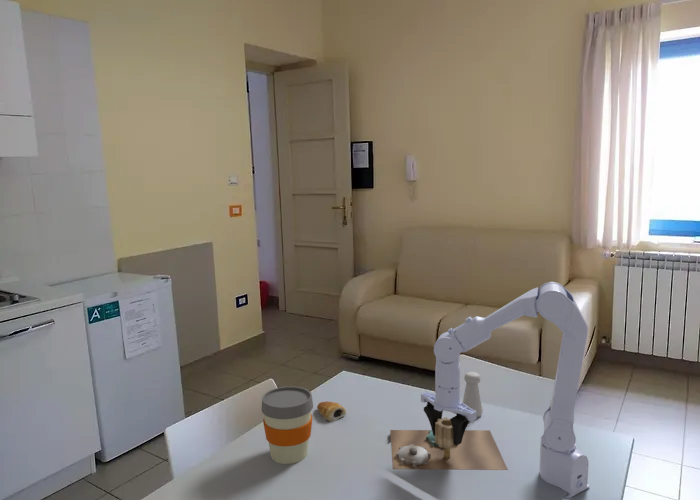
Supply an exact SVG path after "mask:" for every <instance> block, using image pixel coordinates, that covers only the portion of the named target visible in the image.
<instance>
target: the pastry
mask: <svg viewBox="0 0 700 500" xmlns="http://www.w3.org/2000/svg"><path fill="white" fill-rule="evenodd" d="M316 408H317V410H318V412H319V415H320V417H322V418H323V417H324V418H325V419H324V418H323V419H324V420H326V421H327V420H328V421H327V422H330V421H331V422H335V421H337V420H339V419H342V418H344V417H345V416H346V414H347V410H346V408H345V407H344V406H342V405H341V404H339V402H333V401H321V402H319V403H318V404H317V406H316Z"/></svg>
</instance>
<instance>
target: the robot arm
mask: <svg viewBox="0 0 700 500" xmlns="http://www.w3.org/2000/svg"><path fill="white" fill-rule="evenodd" d="M538 314H539V315H540V316H541V317H542V318H544V319H545V320H547V321H549V322H551V323H553V324H554V325H555V326H556V327H557V328H558V329H559V330H560V332H562V336H561V341H560V347H559V354H558V361H557V366H556V373H555V379H554V385H553V389H552V394H551V395H552V396H551V399H550V402H549V406H548V408H546V409H545V411H544V414H543V418H542V419H543V420H542V421H543V434H542V435H541V437H540V448H539V450H540V451H539V452H540V453H539V473H538V474H539V477H540V478H541V479H542V480H543V481H544V482H546V483H547V484H551V485H552V486H554V487H555V486H556V487H558V488H560V489H562V490H563V491H564V492H566V493H567V494H566V495H565V496H564V497H563V498H564V499H565V500H567V499H570V498H572V497H574V496H576V495H578V494H579V493H581V492H583V491H585V490H587V489H589V488H590V484H588V483H589V482H588V480H589V477H588V476H589V458H588V457H587V455H585V454H584V453H583V452H581V451H580V449H578V446H577V443H576V441H577V437H576V434H575V430H574V429H575V427H574V423H575V422H574V421H575V408H576V407H575V406H576V401H577V394H578V389H579V385H580V378H581V373H582V366H583V361H584V355H585V351H586V350H585V349H586V343H587V339H588V338H587V337H588V333H589V328H588V324H587V322H586V319H585V318H584V315H583V314H582V312H581V310H580V307H579V306H578V305H577V302H576V300H575V299H574V296H573V294H572V293H571V292H570V291H569V290H568V289H566V287H565V286H564V285H562V284H561V283H559V282H555V281H549V282H545V283H543V284H542V285H541V286H540V287H539V288H538V286H537V287H535V288H532V289H530V290H528V291H527V292H524V293H523V294H522V295H520V296H518V297H517V298H515V299H513V300H512V301H510V302H508V303H507V304H505V305H504V306H502V307H500V308H499V309H497V310H496V311H493V312H492V313H490V314H489V315H487V316H486V317H483V316H482V317H481V316H478V315H477V316H474V317H472V316H468V317H467V318H465V320H464V322H463V323H462V324H460V325H458V326H455V328H453V327H451V328H450V327H449V329H448V330H447V331H446V332H442V333H441V334H440V335H439V336H438V338H437V340H436V342H435V343H434V346H433V355H434V356H435V369H434V370H435V373H434V374H435V375H434V376H435V377H434V378H435V379H434V380H435V382H434V385H435V386H434V387H435V388H434V389H435V391H434V393H433V392H428V391H424V392H423V393H421V394H420V402H422V403H424V404H425V403H426V405H425V406H424V407H423V411H424V413H425V415H426V418H427V419H428V421H429V424H430V427H431V430H432V432H433V435H434V436H435V422H437V419H443V417H442V416H443V412H449V413H452V414H455V416H453V417H451V418H449V419H450V421H451V423H452V427H453V442H454V445H456V446H457V445H459V444H461V442H462V438H463V435H464V432H465V430H467V427H468V425H469V423H470V422H471V423H472V422H473V421H475V420H477V418H476V411H475V410H473V409H471V408H469V407H468V406H467V405H465V404H464V403H463V401H461V363H460V362H461V359H460V358H461V354H462V353H465V352H468V351H470V350H471V349H474V348H475V347H477V346H479V345H480V344H483V343H485V342H486V341H488V340H490V339H491V337H492V331H495V330H496V329H499V328H500V327H503V326H505V325H507V324H509V323H511V322H513V321H514V320H515V321H516V320H517V319H519V318H521V317H524V316H525V317H530V318H535V319H537V318H538Z"/></svg>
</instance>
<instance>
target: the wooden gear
mask: <svg viewBox="0 0 700 500" xmlns="http://www.w3.org/2000/svg"><path fill="white" fill-rule="evenodd" d="M450 419H451V418H448V417H447V416H445V417H443V418H442V419H437V422H435V443H436V444H438V445H439V447H441V448H442V447H444V448H447V449H451V448H453V447H455V448H456V447H458V445H457V446H456V445H454V442H453V427H452V423H451V421H450Z"/></svg>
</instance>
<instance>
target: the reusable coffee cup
mask: <svg viewBox="0 0 700 500" xmlns="http://www.w3.org/2000/svg"><path fill="white" fill-rule="evenodd" d="M313 408H314V402H313V395H312V392H311V391H310V390H309V389H307V388H305V387H300V386H290V385H289V386H281V387H276V388H273V389H270V390H268V391H267V392H266V393H264V394H263V395H262V398H261V413H262V414H263V418H262V419H263V420H262V421H263V422H262V424H263V428H264V434H265V439H266V441H267V442H268V446H269V447H268V448H269V452H270V457H271V459H272V460H273V461H274V462H275V463H278V464H283V465H292V464H296V463H298V462H301V461H303V460H304V459H306V457H307V456H308V452H309V451H308V450H309V439H310V437H311V435H312V429H313V428H312V425H313V413H312V411H313Z"/></svg>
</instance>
